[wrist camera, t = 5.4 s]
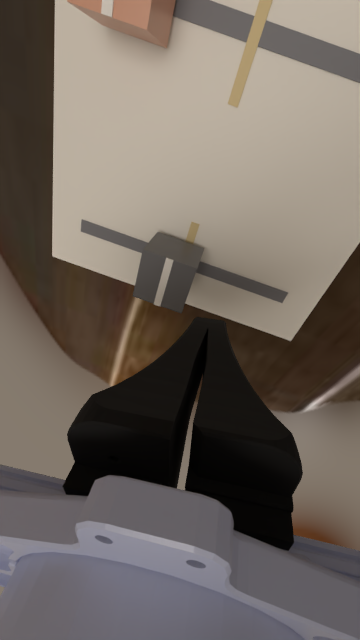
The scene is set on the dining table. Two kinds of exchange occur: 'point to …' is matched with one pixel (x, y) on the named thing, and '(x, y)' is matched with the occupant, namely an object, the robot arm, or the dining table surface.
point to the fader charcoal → (167, 271)
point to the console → (214, 150)
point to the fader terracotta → (132, 17)
